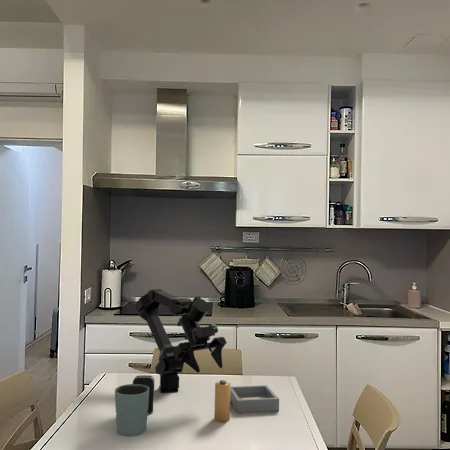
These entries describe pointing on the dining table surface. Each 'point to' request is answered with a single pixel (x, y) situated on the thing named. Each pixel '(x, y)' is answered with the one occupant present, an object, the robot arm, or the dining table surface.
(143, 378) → the battery charger
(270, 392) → the gray square tray
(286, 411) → the dining table surface
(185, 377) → the dining table surface
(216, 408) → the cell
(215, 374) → the dining table surface
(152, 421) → the dining table surface
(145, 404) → the green cup
